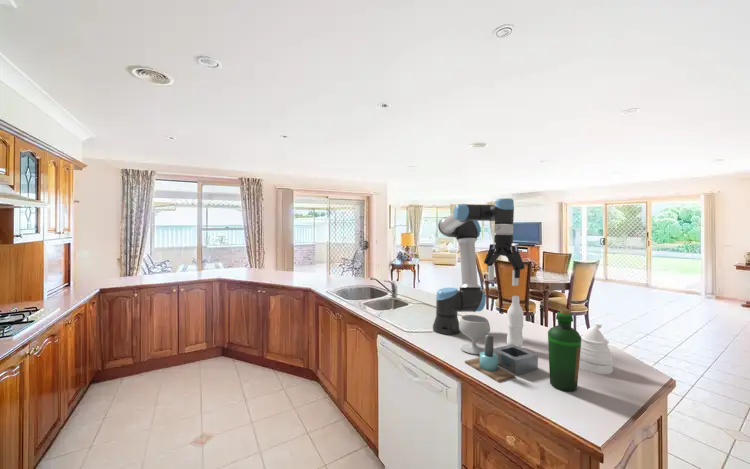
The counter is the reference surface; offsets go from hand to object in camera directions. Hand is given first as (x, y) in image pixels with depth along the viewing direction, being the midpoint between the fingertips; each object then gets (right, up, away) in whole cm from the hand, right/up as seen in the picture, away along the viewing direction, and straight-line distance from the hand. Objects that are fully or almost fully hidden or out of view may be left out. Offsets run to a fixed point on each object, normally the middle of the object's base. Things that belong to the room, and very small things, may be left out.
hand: (502, 282), depth 135 cm
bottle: (+13, -34, -22) cm, 43 cm away
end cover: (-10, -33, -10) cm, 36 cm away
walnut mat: (-10, -34, -10) cm, 36 cm away
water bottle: (+11, -34, +13) cm, 38 cm away
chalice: (-9, -34, +10) cm, 36 cm away
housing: (+2, -34, -7) cm, 34 cm away
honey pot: (+35, -34, -6) cm, 50 cm away
